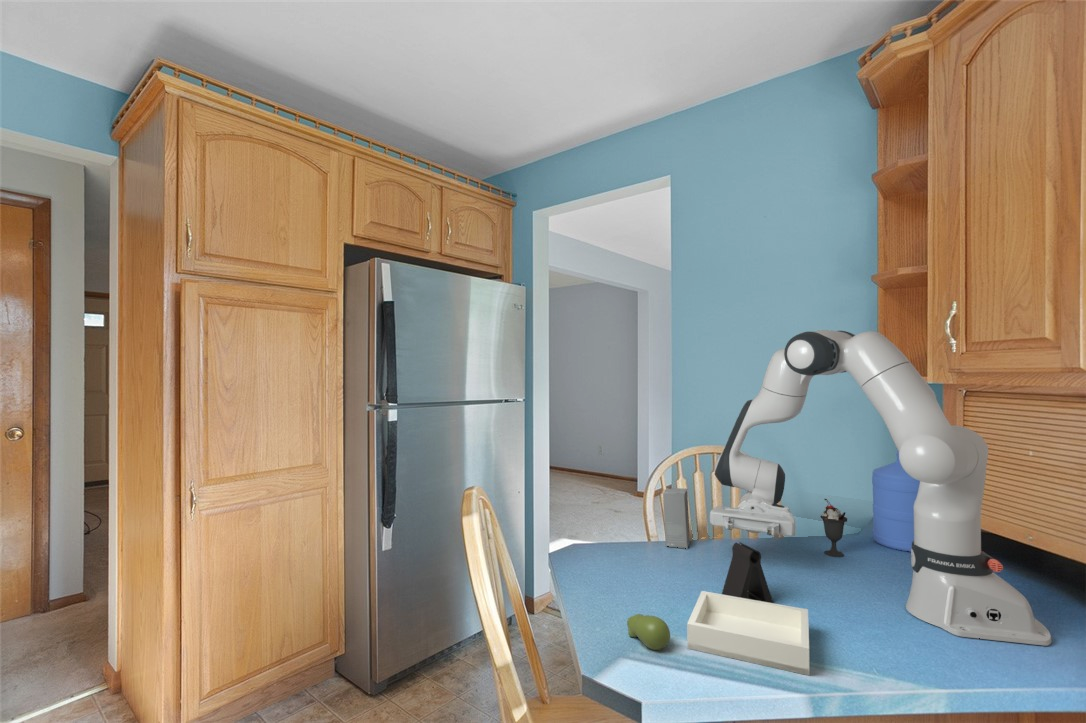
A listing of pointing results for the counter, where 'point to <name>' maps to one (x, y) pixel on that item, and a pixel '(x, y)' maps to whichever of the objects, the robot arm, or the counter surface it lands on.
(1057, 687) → the counter surface
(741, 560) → the phone stand
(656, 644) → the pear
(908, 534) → the water jug
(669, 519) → the skincare box
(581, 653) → the counter surface
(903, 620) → the counter surface
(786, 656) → the tray
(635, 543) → the counter surface
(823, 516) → the sundae
